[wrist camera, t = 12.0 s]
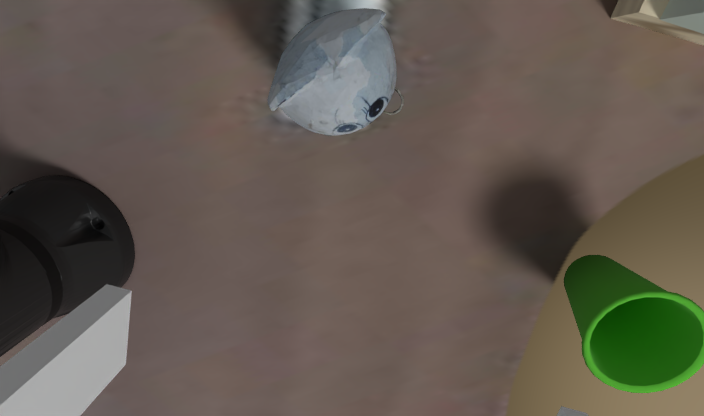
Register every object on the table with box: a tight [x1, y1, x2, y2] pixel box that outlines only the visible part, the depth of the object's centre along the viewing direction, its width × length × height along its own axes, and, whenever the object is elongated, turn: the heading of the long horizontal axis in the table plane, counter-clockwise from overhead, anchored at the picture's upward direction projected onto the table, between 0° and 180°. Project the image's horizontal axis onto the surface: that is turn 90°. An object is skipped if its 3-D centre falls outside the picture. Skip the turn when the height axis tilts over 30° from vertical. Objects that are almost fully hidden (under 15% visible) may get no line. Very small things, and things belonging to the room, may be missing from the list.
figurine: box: [268, 8, 404, 136], centre depth 33 cm, size 10×9×15 cm
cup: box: [564, 255, 704, 393], centre depth 38 cm, size 9×9×11 cm
